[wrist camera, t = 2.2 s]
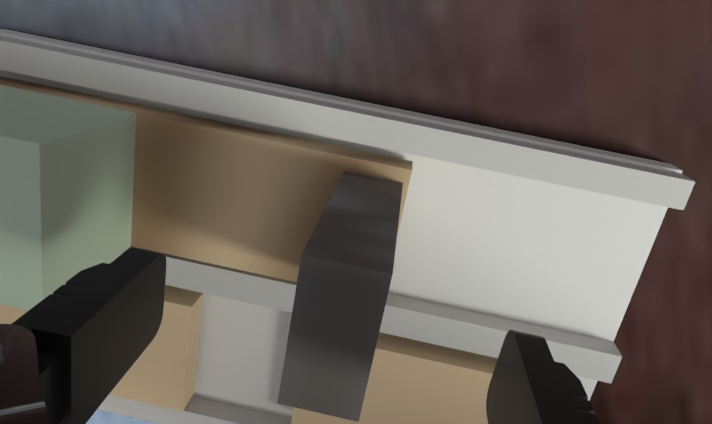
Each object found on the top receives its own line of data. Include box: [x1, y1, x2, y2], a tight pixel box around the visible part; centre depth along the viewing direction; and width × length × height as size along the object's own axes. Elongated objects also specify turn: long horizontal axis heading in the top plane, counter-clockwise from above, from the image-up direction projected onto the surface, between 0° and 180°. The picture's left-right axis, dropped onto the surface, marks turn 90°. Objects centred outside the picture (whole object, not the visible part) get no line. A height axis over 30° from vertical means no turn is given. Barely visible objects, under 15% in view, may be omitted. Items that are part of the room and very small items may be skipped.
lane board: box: [0, 29, 695, 424], centre depth 21 cm, size 25×15×2 cm, turn 80°
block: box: [0, 85, 136, 311], centre depth 17 cm, size 5×5×5 cm
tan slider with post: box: [0, 76, 413, 422], centre depth 17 cm, size 16×5×8 cm, turn 80°
